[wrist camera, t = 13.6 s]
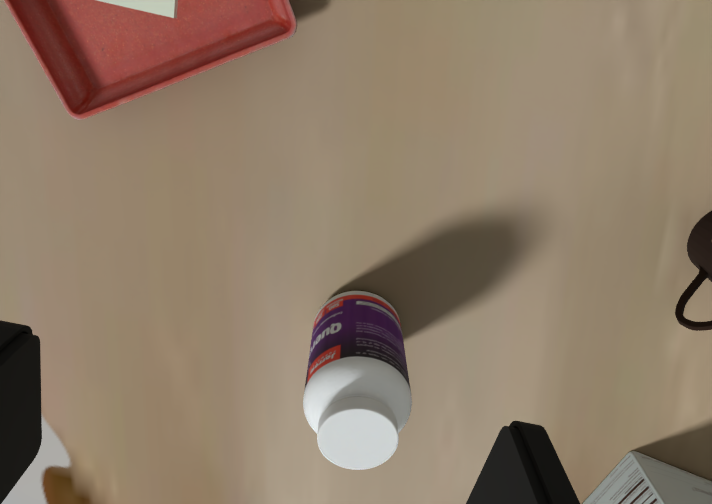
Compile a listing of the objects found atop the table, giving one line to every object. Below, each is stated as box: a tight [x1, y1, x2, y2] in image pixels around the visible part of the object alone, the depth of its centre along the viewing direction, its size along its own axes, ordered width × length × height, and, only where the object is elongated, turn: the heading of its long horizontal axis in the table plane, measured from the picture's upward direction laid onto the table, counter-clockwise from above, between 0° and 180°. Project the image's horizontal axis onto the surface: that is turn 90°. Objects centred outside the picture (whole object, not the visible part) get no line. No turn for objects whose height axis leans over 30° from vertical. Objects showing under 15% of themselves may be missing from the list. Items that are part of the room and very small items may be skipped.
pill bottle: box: [303, 291, 412, 470], centre depth 40 cm, size 8×8×14 cm
